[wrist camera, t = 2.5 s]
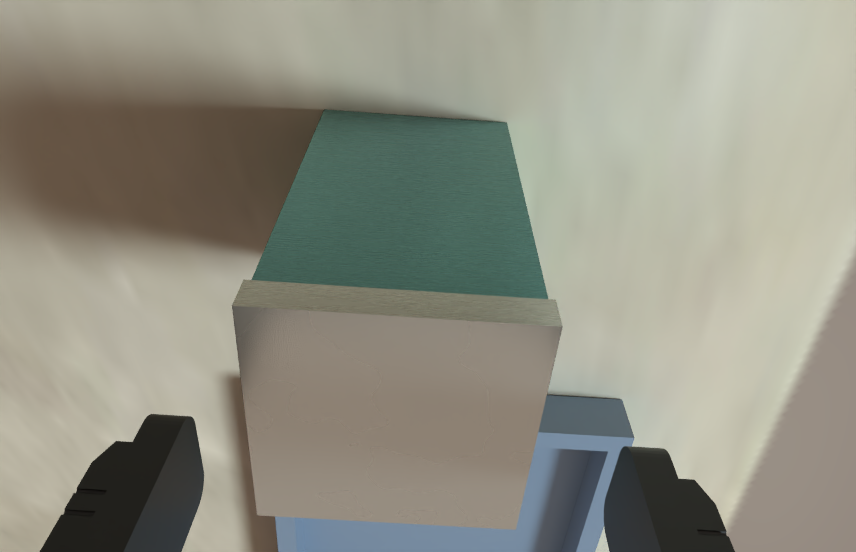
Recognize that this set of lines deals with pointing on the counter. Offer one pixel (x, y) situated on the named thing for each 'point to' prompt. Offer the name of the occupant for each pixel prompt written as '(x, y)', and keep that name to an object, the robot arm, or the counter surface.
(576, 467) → the tray
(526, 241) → the tea tin
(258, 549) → the counter surface
